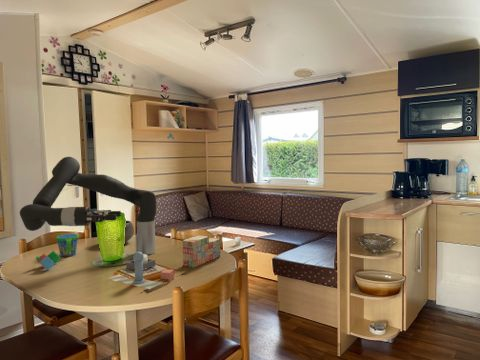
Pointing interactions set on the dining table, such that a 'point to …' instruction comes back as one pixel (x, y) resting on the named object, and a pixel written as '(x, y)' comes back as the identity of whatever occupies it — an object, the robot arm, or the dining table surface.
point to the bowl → (129, 231)
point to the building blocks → (48, 260)
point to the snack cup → (67, 244)
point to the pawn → (138, 268)
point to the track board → (149, 285)
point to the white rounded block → (145, 258)
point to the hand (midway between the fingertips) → (118, 215)
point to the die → (167, 275)
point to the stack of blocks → (200, 250)
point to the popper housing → (145, 265)
